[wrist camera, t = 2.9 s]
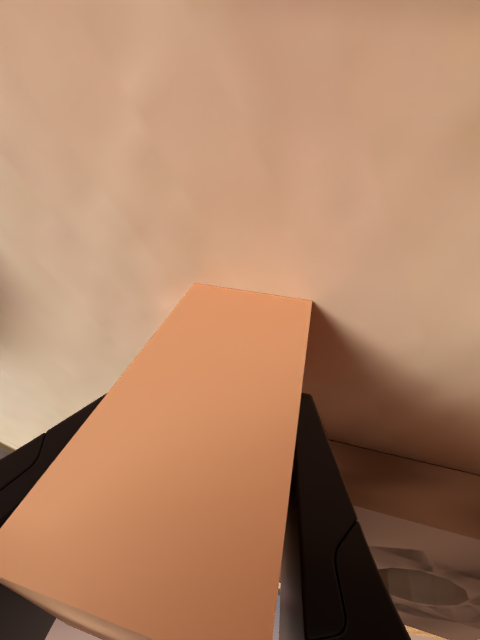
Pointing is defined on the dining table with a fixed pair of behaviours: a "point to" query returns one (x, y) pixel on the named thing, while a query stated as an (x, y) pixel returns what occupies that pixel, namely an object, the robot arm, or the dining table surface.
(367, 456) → the socket board
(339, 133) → the dining table surface
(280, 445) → the square peg
